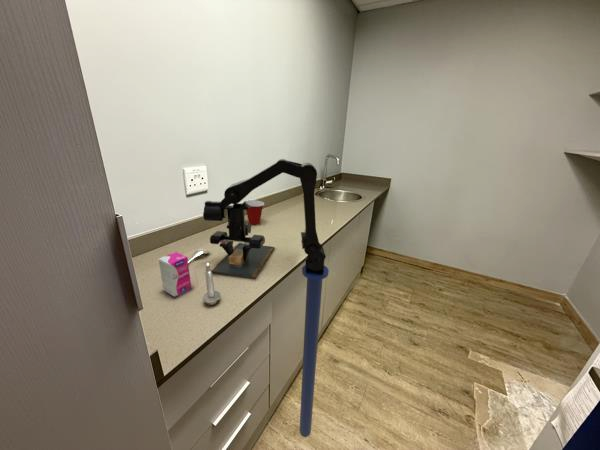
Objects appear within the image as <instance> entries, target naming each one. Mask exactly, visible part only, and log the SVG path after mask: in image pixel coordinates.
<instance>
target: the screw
mask: <svg viewBox="0 0 600 450" xmlns="http://www.w3.org/2000/svg"><path fill="white" fill-rule="evenodd" d="M212 270H213V269H212V268H211V265H210V262H206V263H205V272H204V273H205V274H204V275H205V284H206V290H207V292H205V293H204V294H203V296H202V297H201V299H202V301H203V302H204V303H206V304H207V305H209V306H213V305H215V304H217V302H218V300H219V299H220V298H221V293H220V292H219V291H217V290H216V291H215V286H214V285H215V284H214V277H213V275H214V274H212Z"/></svg>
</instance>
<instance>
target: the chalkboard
mask: <svg viewBox="0 0 600 450" xmlns="http://www.w3.org/2000/svg"><path fill="white" fill-rule="evenodd" d="M244 246H245V243H243V242H238V243H237V244H236V246H235V247H233V252H234V251H235V250H236V249H242V248H243V247H244ZM274 251H275V246H272V245H271V246H270V245H262V247H261V248H259V249H257V248H252V249H250V250H249V253H248V260H247V261H246V263H245V264H244V265H243V266H242V268H236V267H229V255H228V254H227V255H226V256H224V257H223V258H222V260H221V261H220V262H219V263H217V265H216V266H215V267H214V268H213V269H211V270H212V275H220V276H227V277H233V278H234V277H235V278H240V279H241V278H243V279H249V280H250V279H251V280H256V279H257V277H258V275H259V274H260V273H261V271H262V269H263V268H264V266H265V265H266V263H267V262H268V260H269V258H270V257H271V255H272V253H273V252H274Z"/></svg>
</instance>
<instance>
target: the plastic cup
mask: <svg viewBox="0 0 600 450" xmlns="http://www.w3.org/2000/svg"><path fill="white" fill-rule="evenodd" d="M245 201H246V203H247V204H249V205H250V208H249V209H248V210H245V212H246V218H247V221H248V225H251V226H258V225H260V223H261V219H262V212H263V208H264V206H265V202H264V201H261V200H255V199H251V200H250V199H248V200H245Z"/></svg>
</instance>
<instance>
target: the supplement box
mask: <svg viewBox="0 0 600 450" xmlns="http://www.w3.org/2000/svg"><path fill="white" fill-rule="evenodd" d="M188 260H189V257H188V256H186V255H185V254H184V255H183V254H182V253H180V252H177V251H175V252H173V253H169V254H167V255H165V256H162V257H160V258H158V266H159V271H160V277H161V283H162V288H163V292H164V293H166V294H167V295H169V296H171V297H172V298H174V299H175V298H177V297H179V296H180V295H182V294H184V293H186V292H187V291H190V290H191V289H192V283H191V274H190V266H189V263H188Z"/></svg>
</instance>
